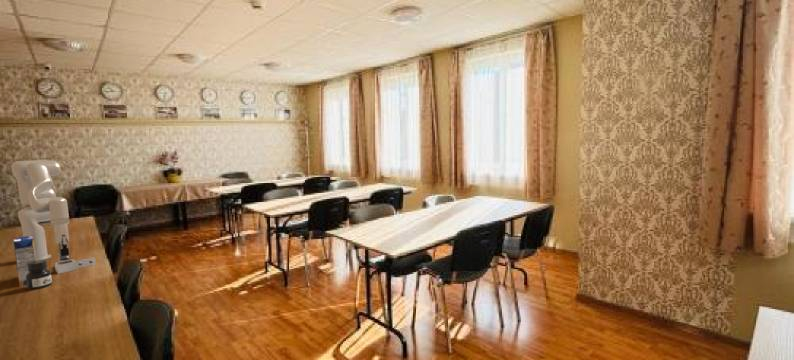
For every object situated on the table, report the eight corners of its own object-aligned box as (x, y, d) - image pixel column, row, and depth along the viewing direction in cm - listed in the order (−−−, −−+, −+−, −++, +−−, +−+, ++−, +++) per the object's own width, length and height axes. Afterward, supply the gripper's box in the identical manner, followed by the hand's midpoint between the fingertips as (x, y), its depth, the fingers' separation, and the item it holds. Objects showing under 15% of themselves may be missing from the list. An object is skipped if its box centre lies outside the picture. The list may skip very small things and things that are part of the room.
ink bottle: (36, 290, 184) (32, 265, 183) (21, 289, 186) (18, 265, 185) (57, 283, 194) (54, 259, 192) (43, 282, 195) (40, 258, 194)
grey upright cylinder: (59, 259, 213) (57, 247, 212) (69, 258, 216) (67, 245, 215) (60, 261, 210) (59, 248, 209) (70, 259, 213) (68, 246, 212)
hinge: (52, 267, 219) (51, 259, 219) (90, 260, 232) (89, 252, 231) (58, 273, 208) (57, 265, 207) (97, 265, 220) (96, 257, 220)
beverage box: (19, 286, 191) (13, 241, 189) (19, 280, 199) (13, 238, 197) (38, 282, 196) (33, 238, 193) (37, 277, 204) (32, 235, 201)
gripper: (48, 220, 213) (52, 254, 215) (53, 224, 202) (58, 259, 204) (66, 218, 219) (70, 250, 221) (72, 221, 208) (76, 255, 210)
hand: (64, 254), depth 212 cm, fingers closed on grey upright cylinder, 4 cm apart
